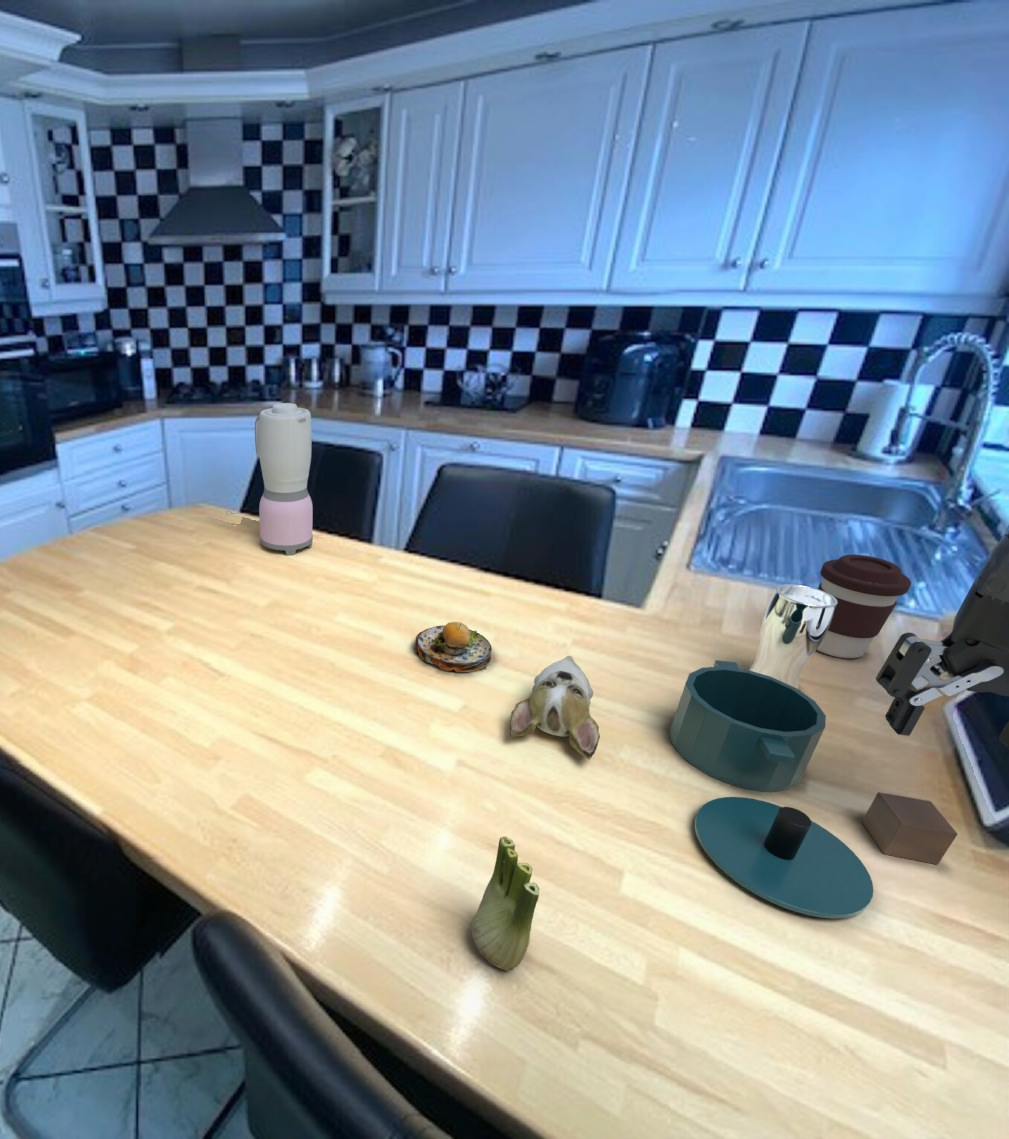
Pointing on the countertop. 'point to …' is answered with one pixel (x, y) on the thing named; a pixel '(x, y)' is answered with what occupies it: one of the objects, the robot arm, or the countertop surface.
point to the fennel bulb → (506, 910)
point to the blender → (285, 477)
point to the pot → (746, 727)
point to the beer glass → (792, 631)
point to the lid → (784, 857)
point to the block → (909, 828)
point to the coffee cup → (859, 601)
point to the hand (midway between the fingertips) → (952, 738)
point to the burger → (453, 647)
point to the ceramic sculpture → (559, 707)
